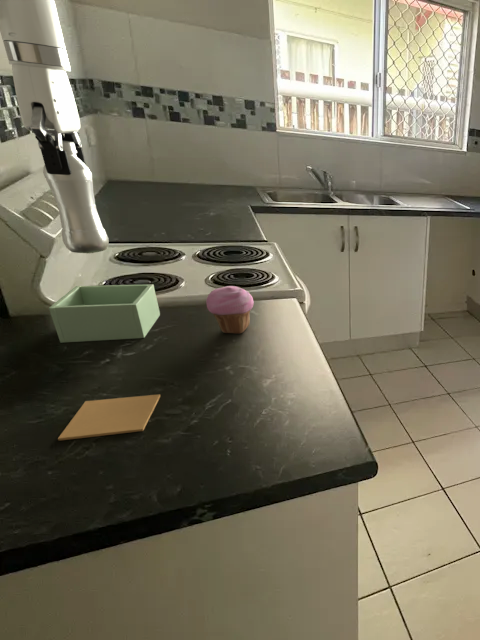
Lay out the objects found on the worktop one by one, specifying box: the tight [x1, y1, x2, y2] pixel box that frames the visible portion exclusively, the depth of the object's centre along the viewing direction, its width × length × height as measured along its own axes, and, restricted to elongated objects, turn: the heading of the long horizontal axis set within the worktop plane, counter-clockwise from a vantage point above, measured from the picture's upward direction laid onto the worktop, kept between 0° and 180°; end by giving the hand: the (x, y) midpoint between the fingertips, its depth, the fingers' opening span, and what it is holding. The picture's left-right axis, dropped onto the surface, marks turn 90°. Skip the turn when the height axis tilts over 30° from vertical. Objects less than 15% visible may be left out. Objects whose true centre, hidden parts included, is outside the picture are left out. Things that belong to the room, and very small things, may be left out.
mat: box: [57, 393, 161, 442], centre depth 73 cm, size 10×10×1 cm
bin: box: [48, 283, 161, 344], centre depth 98 cm, size 14×13×7 cm
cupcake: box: [206, 285, 255, 334], centre depth 102 cm, size 9×9×10 cm
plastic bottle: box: [42, 141, 110, 254], centre depth 88 cm, size 6×7×20 cm
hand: (68, 170), depth 85 cm, fingers closed on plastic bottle, 6 cm apart
